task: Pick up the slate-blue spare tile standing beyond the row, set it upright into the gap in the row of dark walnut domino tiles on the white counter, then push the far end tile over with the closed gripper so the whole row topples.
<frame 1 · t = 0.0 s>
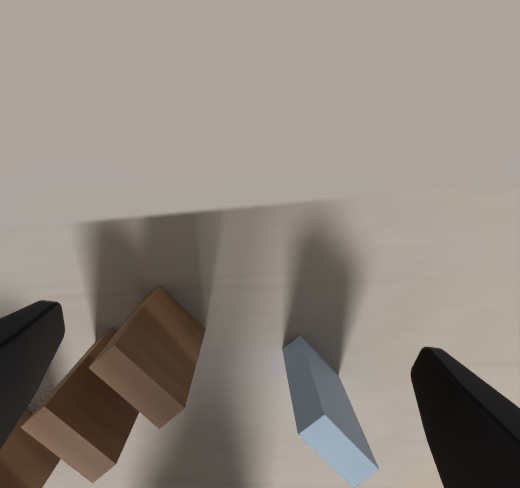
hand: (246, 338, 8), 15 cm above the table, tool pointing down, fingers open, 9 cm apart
tile 4: (39, 431, 26), on the table
blue tile: (310, 362, 26), on the table
tile 1: (174, 314, 25), on the table
tile 2: (127, 355, 25), on the table
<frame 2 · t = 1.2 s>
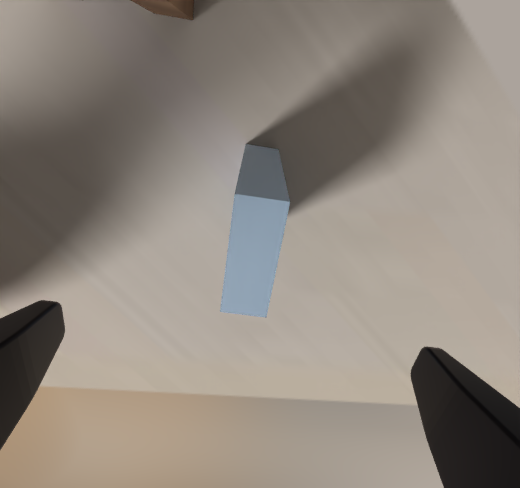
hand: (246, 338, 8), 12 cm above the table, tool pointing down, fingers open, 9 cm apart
blue tile: (255, 188, 19), on the table
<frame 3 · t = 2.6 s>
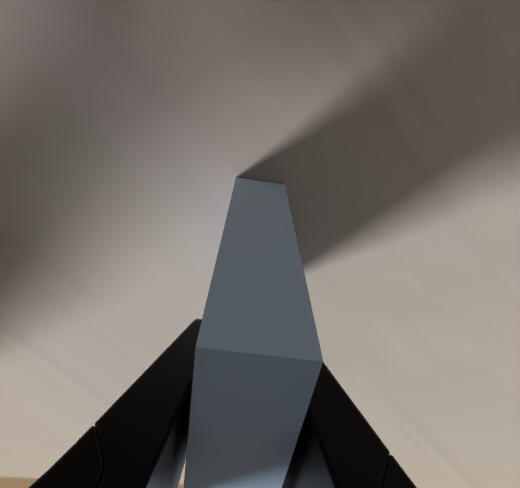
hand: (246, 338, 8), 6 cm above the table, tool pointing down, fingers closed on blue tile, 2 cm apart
blue tile: (251, 239, 13), on the table, touching gripper
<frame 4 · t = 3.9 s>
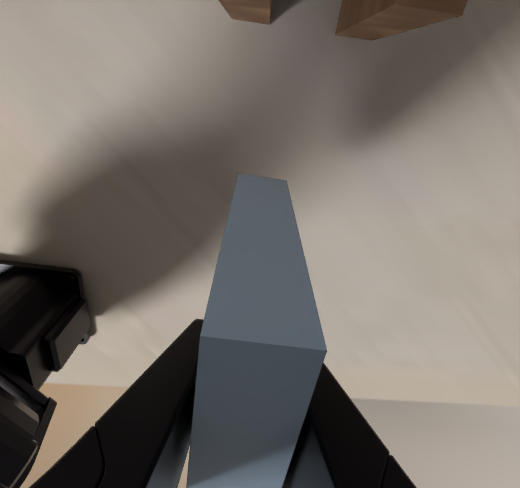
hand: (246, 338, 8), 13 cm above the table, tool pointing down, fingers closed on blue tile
blue tile: (253, 235, 13), point 7 cm above the table, touching gripper
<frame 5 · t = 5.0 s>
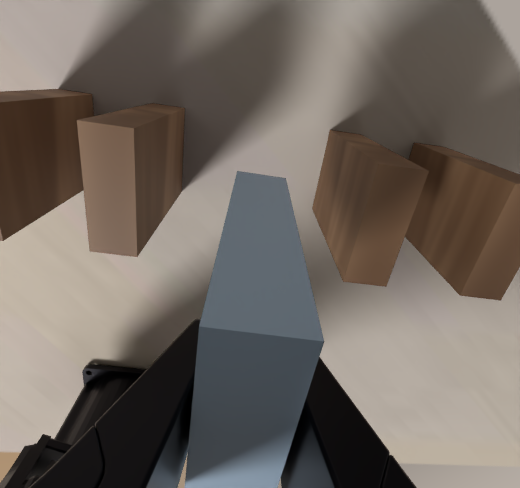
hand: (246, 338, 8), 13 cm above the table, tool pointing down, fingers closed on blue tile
tile 4: (167, 149, 19), on the table
tile 5: (79, 137, 19), on the table
blue tile: (252, 233, 13), point 8 cm above the table, touching gripper
tile 1: (414, 184, 20), on the table
tile 2: (335, 173, 20), on the table
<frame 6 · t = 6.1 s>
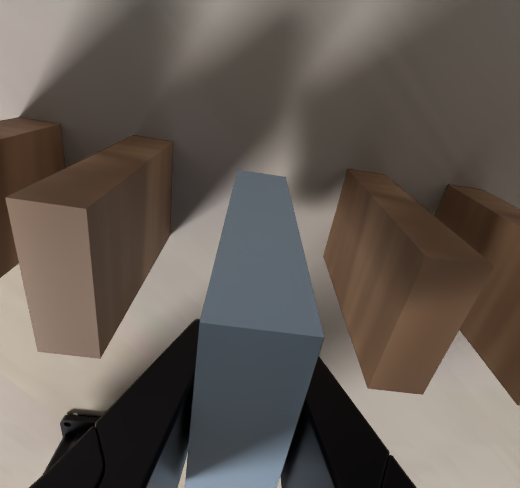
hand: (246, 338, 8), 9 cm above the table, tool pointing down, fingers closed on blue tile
tile 4: (152, 188, 16), on the table
tile 5: (47, 173, 16), on the table
blue tile: (252, 231, 13), point 3 cm above the table, touching gripper
tile 1: (445, 231, 17), on the table
tile 2: (351, 217, 17), on the table
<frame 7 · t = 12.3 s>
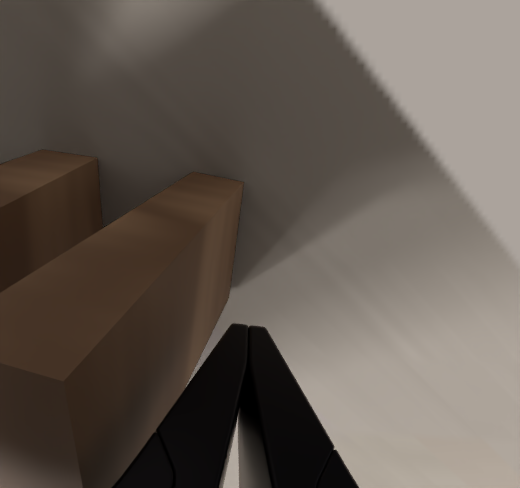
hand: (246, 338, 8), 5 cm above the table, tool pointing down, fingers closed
tile 1: (212, 239, 12), on the table, tilted 11°, touching gripper
tile 2: (77, 219, 12), on the table
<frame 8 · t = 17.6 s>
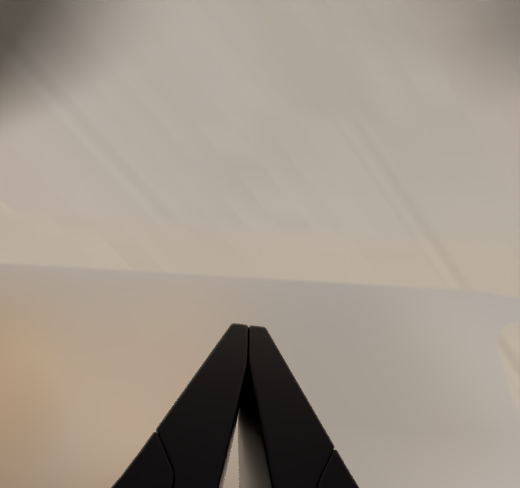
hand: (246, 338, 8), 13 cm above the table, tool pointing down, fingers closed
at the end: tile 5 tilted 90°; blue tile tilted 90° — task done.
